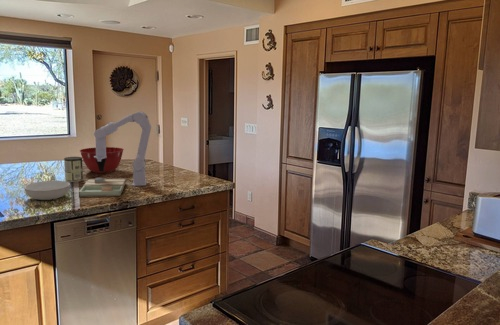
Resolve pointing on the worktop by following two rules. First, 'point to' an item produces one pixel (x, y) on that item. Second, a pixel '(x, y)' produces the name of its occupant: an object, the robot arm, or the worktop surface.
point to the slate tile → (99, 180)
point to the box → (100, 191)
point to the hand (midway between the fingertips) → (101, 171)
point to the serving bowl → (47, 189)
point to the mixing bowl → (112, 158)
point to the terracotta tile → (107, 189)
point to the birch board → (106, 182)
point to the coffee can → (73, 169)
